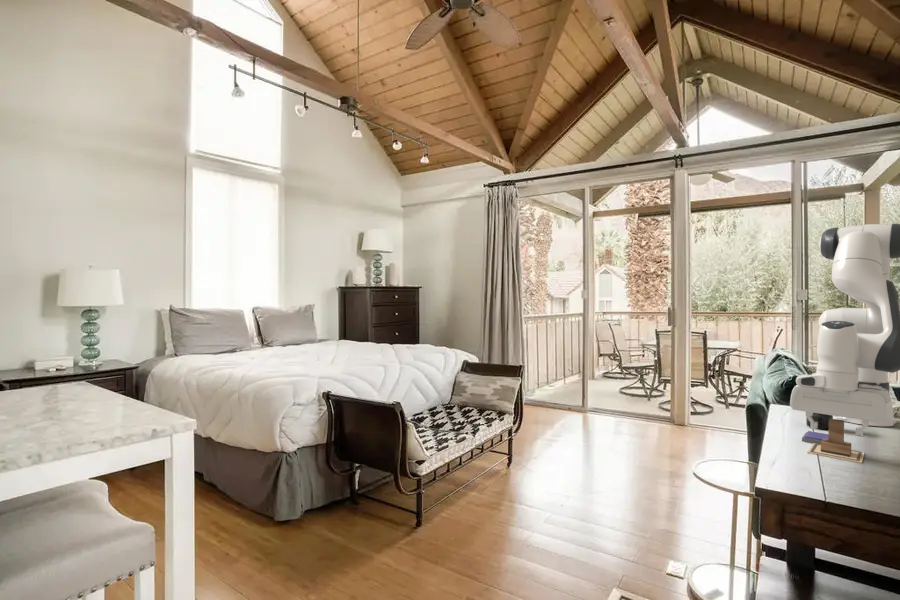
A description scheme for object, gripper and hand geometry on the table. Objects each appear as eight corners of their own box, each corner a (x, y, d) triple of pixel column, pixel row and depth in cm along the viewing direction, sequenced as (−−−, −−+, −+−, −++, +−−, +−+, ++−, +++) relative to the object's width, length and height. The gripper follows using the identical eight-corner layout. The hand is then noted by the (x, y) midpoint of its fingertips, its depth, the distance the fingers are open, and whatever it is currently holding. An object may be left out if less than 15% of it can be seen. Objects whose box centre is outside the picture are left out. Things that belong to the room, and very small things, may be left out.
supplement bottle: (838, 429, 149) (839, 392, 148) (821, 431, 147) (822, 393, 147) (816, 424, 155) (817, 388, 155) (800, 425, 154) (801, 389, 154)
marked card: (813, 444, 133) (813, 442, 133) (864, 453, 125) (864, 451, 125) (807, 452, 125) (807, 451, 125) (861, 463, 118) (861, 461, 118)
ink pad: (806, 435, 142) (806, 430, 142) (842, 441, 136) (842, 436, 136) (801, 441, 136) (801, 436, 136) (839, 448, 130) (839, 442, 130)
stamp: (822, 447, 129) (823, 416, 129) (851, 452, 125) (851, 420, 125) (820, 451, 126) (821, 419, 126) (849, 457, 122) (850, 424, 122)
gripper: (890, 385, 120) (889, 438, 121) (793, 375, 135) (792, 422, 135) (889, 388, 116) (888, 443, 116) (789, 377, 130) (788, 426, 130)
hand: (836, 432), depth 126 cm, fingers open, 8 cm apart
